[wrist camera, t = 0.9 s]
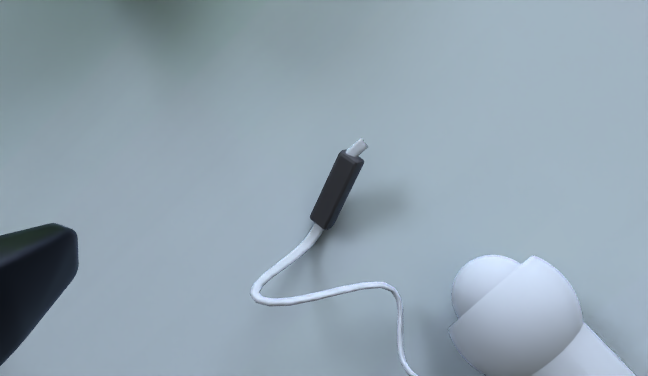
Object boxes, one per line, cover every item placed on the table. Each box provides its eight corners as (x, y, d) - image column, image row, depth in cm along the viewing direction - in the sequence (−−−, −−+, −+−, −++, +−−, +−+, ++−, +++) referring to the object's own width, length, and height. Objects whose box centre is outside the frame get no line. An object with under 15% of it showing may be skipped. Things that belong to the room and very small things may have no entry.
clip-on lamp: (245, 283, 27) (490, 628, 20) (174, 278, 21) (488, 767, 14) (408, 131, 25) (725, 445, 19) (382, 81, 19) (831, 512, 13)
